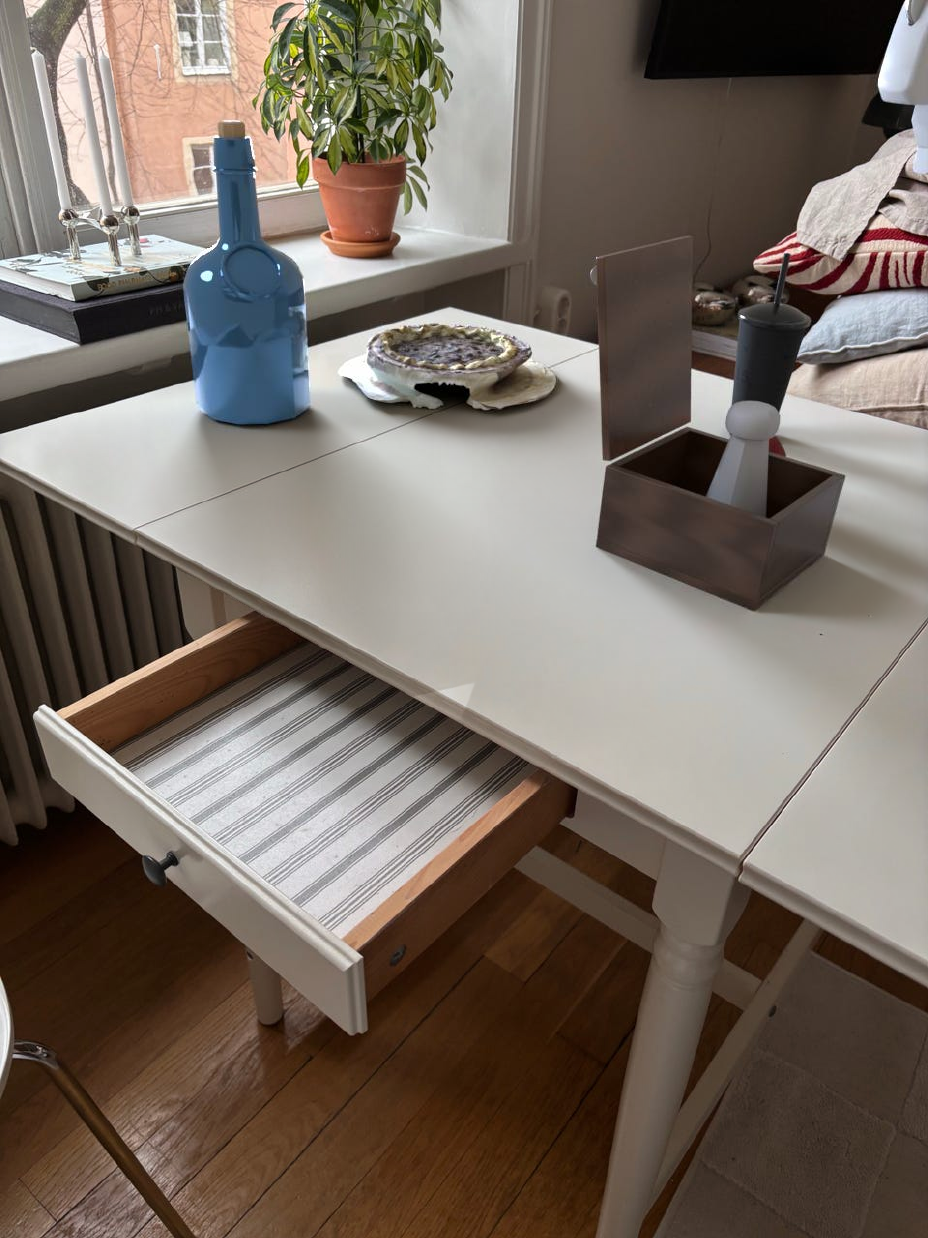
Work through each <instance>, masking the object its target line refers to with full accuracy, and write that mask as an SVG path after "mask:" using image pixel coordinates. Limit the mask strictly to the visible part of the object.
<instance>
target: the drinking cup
mask: <svg viewBox="0 0 928 1238" xmlns="http://www.w3.org/2000/svg"><path fill="white" fill-rule="evenodd" d="M790 258H791V253H789V252H784V253H783V256H782V261H781V266H780V271H779V275H778V281H777V285H776V291H775V295H774V299H773V301H767V302H760V303H755V304H753V305H750V306H746V307H743V308H741V309H739V310H738V312H737V319H739V323H738V325H739V326H738V334H737V345H736V355H735V365H734V367H735V368H734V375H733V385H732V387H733V388H732V396H731V406H732V405H733V404H735V403H737V402H741V401H758V402H763V403H766V404H769V405H771V406H773V407H775V408H776V409H777V411H778V412H779V413H780V412H781V410H782V406H783V403H784V399H785V396H786V393H787V390H788V387H789V385H790V384H789V383H790V381H791V378H792V374H793V371H794V368H795V364H796V362H797V359H798V356H799V352H800V350H801V346H802V343H803V340H804V336H805V333H806V330H807V328H808V327H810V326H811V322H812V319H811V317H810V316H809V315H807V314H806V313H803V312H802V311H801V310H799V309H798V308H796V307H794V306H792V305H790V304H786V303H782V297H783V292H784V287H785V283H786V278H787V273H788V268H789V264H790ZM731 406H730V407H731ZM728 433H729V432H728ZM729 435H730V436H731V433H729Z"/></svg>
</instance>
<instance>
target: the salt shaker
mask: <svg viewBox="0 0 928 1238" xmlns="http://www.w3.org/2000/svg"><path fill="white" fill-rule="evenodd" d="M731 405H732V404H731ZM724 425H725V429H726V431H727V433H731V435H730V436H729V438H728V439H729V441H728V443H727V446H726V448H725V451H724V454H723V456H722V459H721V461H720V464H719V466H718V469H717V471H716V474H715V476H714V478H713V481H712V483H711V485H710V488H709V490H708V493H707V495H706V497H708V498H711V499H713V500H716V501H719V502H722V503H725V504H728V505H731V506H734V507H736V508H739V509H742V510H745V511H748V512H751V513H754V514H757V515H760V516H762V517H765V518H766V501H767V477H768V453H769V439H770V438H773V437H774V436H777V433H778V432H779V429H780V425H781V414H780V412H778V411H777V409H776V408H775V407H773V406H771V405H769V404H766V403H763V402H758V401H741V402H737V403H735V404H733V405H732V406H730V407H729V408H728V411H727V413H726V416H725V421H724Z"/></svg>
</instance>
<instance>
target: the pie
mask: <svg viewBox="0 0 928 1238" xmlns="http://www.w3.org/2000/svg"><path fill="white" fill-rule="evenodd" d="M364 350H365V354H363V355H360V356H358V357H355V358H352V359H350V360H348V361H346V362H345V363H344V364H343V365H342V366H341V367H340V368H339V369H338V371H337V374H338V375H340V376H342V377H347V378H349V379H351V380H352V382H354V383H355V384H356V386H357V387H358V388H359V389H360V390H361V392H362V393H363V394H364V396H366V398H367V397H368V398H369V399H372V400H374V401H377V402H380V403H387V404H395V403H400V402H403V403H407V402H410V403H411V404H412V408H413V409H416V408H422V407H424V408H428V409H429V410H436V409H437V408H440V406H443V405H444V403H443V401H442V400H441V399H440V398H437V397H435V396H432V395H430V394H427V393H424V392H420V391H419V390H417V389H415V386H416V385H417V384H428V383H429V384H431V385H432V384H434V383H438V386H441V385H442V384H443V383H445V384H446V385H447V386H448V385H449V384H450V385H451V386H453V385H454V384H455V385H456V386H460V387H462V386H464V387H465V388H466V389H469V396H468V398H467V400H466V404H467V405H469V406H472V408H473V409H482V411H489V410H494V409H495V410H498V411H500V410H503V409H504V408H506V407H512V406H519V405H523V404H527V403H528V404H529V403H532V402H537V401H540V400H542V399H544V398H546V397H547V396H548V395H550V393H551V392H552V390H553V389H554V388H555V386H556V383H557V379H556V375H555V374H554V373H553V372H552V371H551V370H550V369H549V368H547V366H545V365H544V364H542V363H539V362H536V361H535V360H534V359H532V358H531V357H532V355H533V352H532V346H531V345H529V344H528V342H525V341H522V340H519V339H518V338H517V337H516V336H515V335H510V334H509V333H506V332H504V331H502V330H496V329H490V330H489V328H488V327H487V326H483V327H482V326H481V327H480V326H476V325H461V324H456V323H454V325H448V324H439V323H438V322H437V323H436V322H433V323H432V322H430V323H428V324H427V323H423V324H417V325H416V324H414V325H406V324H403V325H400V326H399V327H398V328H397V327H394V328H391V329H386V330H385V329H384V330H383V331H379V332H377V333H376V334H375V335H372V336H371V337H370V338H369V339H368V341H367V344H366V347H365V349H364Z"/></svg>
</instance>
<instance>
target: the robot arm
mask: <svg viewBox="0 0 928 1238" xmlns="http://www.w3.org/2000/svg"><path fill="white" fill-rule="evenodd" d="M877 87H878V91H879V94H880V98H881V100H882V101H883V102H886V103H891V104H898V105H911V106H914V108H913V113H912V117H911V124H912V129H913V136H914V139H915V144H916V147H917V149H916V153H915V156H914V159H913V164H912V171H913V172H914V173H915V174H919V175H923V176H928V0H905V1H904V3H903V5H902V6H901V9H900V12H899V14H898V17H897V19H896V23H895V24H894V27H893V30H892V34H891V36H890V39H889V42H888V45H887V48H886V51H885V54H884V58H883V61H882V64H881V67H880V72H879V76H878V80H877Z"/></svg>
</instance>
